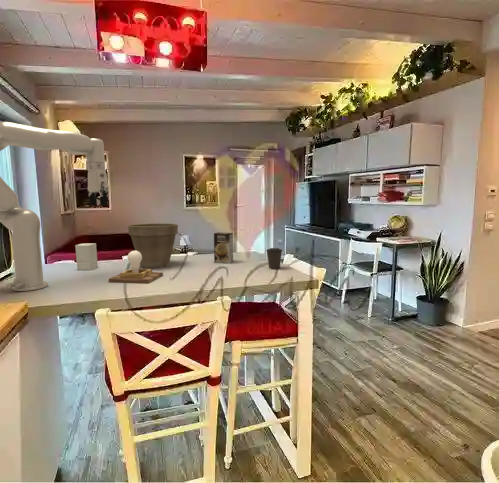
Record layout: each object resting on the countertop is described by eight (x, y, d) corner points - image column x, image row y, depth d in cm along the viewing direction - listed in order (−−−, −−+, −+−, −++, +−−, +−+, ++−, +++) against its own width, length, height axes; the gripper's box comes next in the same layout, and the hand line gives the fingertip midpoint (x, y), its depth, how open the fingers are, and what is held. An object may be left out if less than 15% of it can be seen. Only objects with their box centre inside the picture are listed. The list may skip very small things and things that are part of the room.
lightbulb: (128, 274, 162) (127, 250, 160) (143, 273, 163) (141, 249, 162) (128, 277, 156) (126, 252, 155) (142, 275, 158) (141, 251, 156)
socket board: (148, 283, 150) (147, 275, 150) (108, 282, 153) (108, 274, 153) (162, 275, 165) (162, 268, 165) (126, 274, 168) (126, 267, 168)
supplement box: (98, 267, 186) (96, 243, 185) (90, 270, 179) (88, 245, 177) (84, 267, 187) (83, 243, 185) (76, 270, 180) (74, 245, 178)
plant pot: (162, 259, 207) (161, 221, 204) (188, 264, 190) (187, 223, 187) (121, 265, 189) (119, 224, 186) (145, 272, 172) (143, 227, 169)
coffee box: (213, 262, 195) (213, 233, 192) (218, 260, 201) (217, 232, 199) (229, 263, 192) (229, 233, 190) (233, 261, 198) (233, 232, 196)
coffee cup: (285, 269, 176) (285, 248, 175) (270, 270, 173) (270, 250, 172) (278, 266, 184) (278, 246, 183) (263, 267, 181) (263, 247, 180)
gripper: (114, 166, 159) (116, 205, 162) (94, 168, 170) (97, 204, 173) (97, 165, 154) (100, 205, 156) (78, 167, 165) (81, 205, 167)
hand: (98, 205), depth 164 cm, fingers open, 9 cm apart
